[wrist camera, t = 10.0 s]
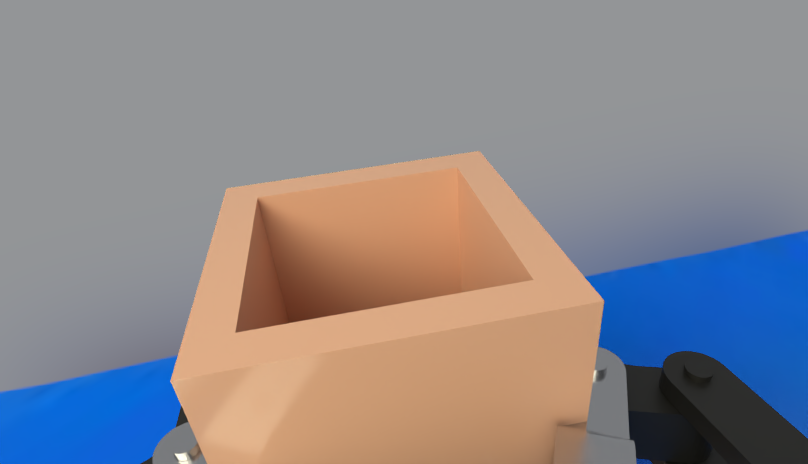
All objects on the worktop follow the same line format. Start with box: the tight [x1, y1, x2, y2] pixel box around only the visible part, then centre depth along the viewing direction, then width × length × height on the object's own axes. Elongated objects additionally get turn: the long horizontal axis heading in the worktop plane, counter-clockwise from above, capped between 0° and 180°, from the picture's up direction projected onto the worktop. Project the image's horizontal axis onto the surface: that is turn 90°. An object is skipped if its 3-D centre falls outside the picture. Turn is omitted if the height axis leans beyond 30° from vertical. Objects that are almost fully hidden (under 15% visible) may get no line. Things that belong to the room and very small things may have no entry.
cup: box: [171, 151, 604, 464], centre depth 13 cm, size 6×6×10 cm
